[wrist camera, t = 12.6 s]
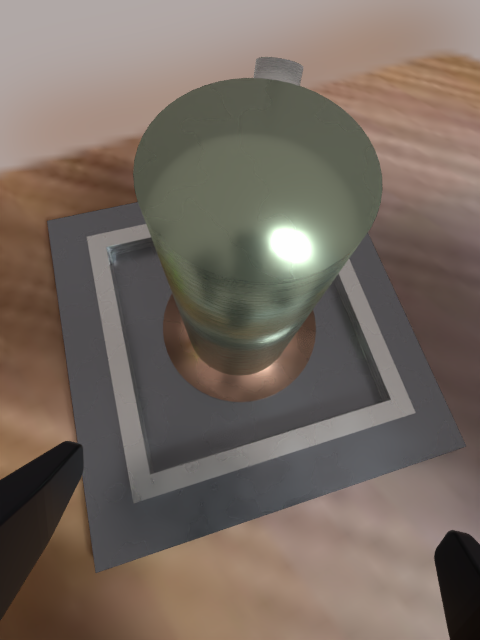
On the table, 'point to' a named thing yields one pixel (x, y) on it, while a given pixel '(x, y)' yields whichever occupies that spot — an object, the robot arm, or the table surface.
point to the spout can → (254, 208)
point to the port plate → (227, 396)
